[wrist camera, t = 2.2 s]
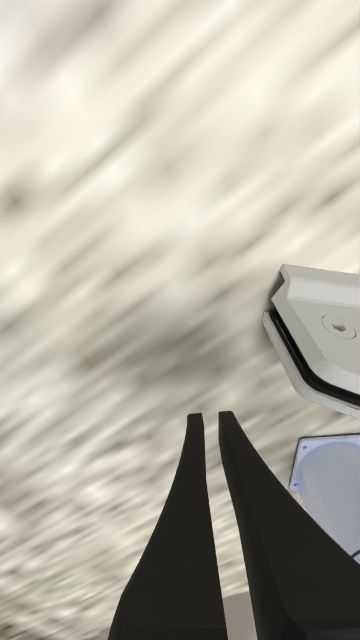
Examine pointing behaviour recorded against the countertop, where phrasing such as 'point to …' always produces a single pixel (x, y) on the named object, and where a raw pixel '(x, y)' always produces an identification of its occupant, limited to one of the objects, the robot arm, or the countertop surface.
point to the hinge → (319, 335)
